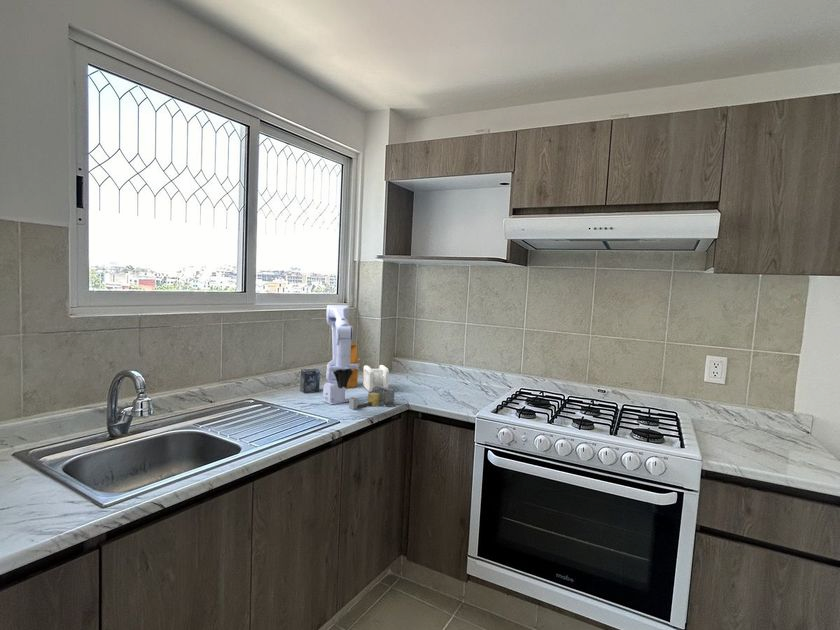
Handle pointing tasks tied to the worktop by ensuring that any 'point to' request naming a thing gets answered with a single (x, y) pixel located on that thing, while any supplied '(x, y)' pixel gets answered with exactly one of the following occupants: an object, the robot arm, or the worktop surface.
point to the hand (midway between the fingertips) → (342, 387)
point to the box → (310, 380)
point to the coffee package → (353, 360)
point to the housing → (386, 396)
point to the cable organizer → (375, 377)
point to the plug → (372, 401)
